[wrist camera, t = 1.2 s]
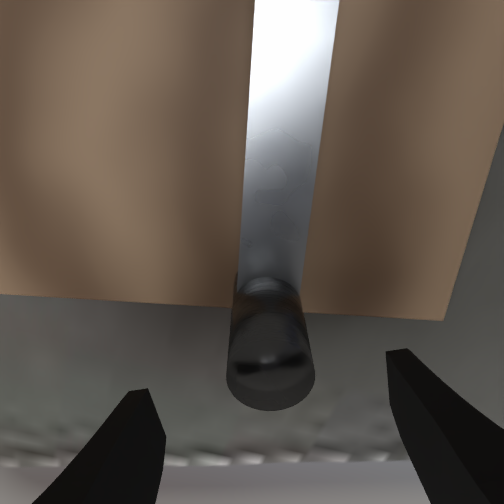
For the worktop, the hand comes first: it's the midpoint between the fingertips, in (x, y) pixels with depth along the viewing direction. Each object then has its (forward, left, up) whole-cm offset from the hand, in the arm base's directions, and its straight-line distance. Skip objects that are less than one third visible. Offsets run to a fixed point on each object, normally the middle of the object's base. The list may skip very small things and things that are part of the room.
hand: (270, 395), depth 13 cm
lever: (0, -7, -7) cm, 10 cm away
